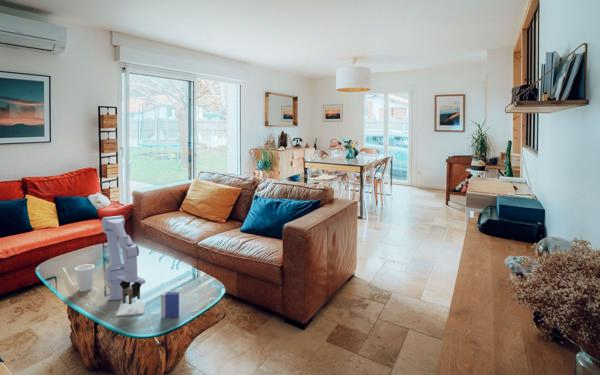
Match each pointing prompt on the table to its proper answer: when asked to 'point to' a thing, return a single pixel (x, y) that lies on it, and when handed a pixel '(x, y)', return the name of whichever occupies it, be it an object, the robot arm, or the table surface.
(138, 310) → the mat
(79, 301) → the table surface
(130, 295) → the brown forked block
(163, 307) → the walkman
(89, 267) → the foam cup
